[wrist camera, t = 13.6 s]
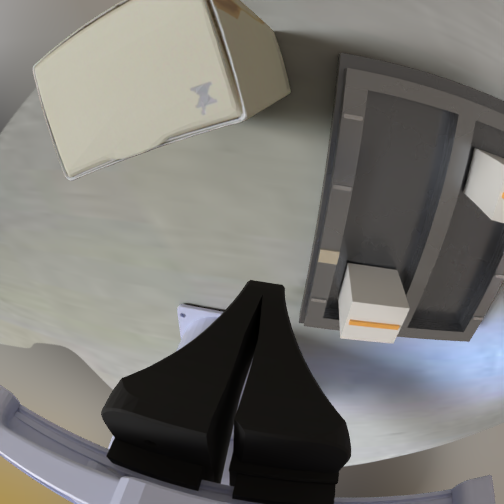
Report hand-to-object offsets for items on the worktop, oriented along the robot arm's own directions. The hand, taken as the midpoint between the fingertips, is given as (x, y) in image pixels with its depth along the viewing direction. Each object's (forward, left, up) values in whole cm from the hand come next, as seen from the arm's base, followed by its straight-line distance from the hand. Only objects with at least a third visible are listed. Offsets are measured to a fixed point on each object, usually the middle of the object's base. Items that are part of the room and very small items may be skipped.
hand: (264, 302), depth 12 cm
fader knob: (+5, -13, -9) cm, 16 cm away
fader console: (+1, -10, -10) cm, 14 cm away
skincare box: (+8, +4, -10) cm, 14 cm away
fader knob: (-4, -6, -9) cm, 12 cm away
